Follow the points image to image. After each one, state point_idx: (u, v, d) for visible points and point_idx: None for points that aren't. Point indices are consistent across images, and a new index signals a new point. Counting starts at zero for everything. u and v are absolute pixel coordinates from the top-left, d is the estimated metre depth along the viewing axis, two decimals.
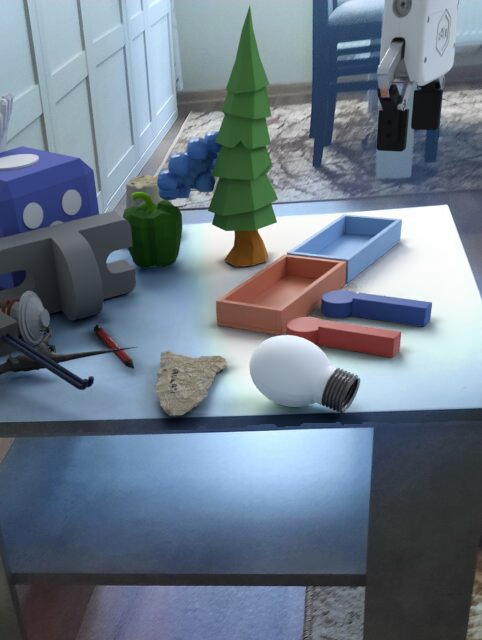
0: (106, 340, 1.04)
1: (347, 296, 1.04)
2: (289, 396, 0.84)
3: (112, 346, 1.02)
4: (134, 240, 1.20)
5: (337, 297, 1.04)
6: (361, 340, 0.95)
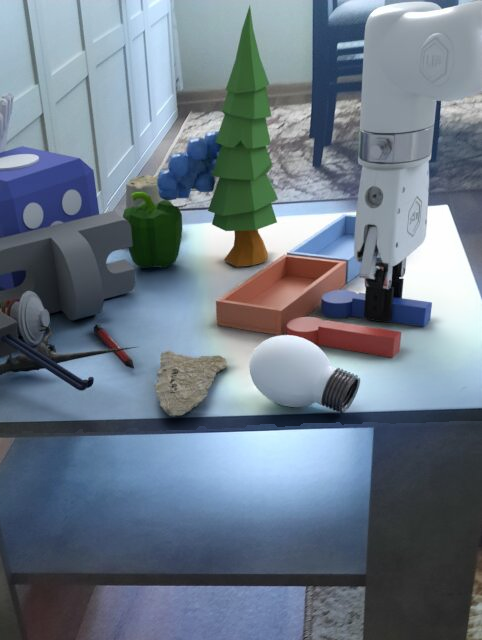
0: (106, 340, 1.04)
1: (347, 296, 1.04)
2: (289, 396, 0.84)
3: (112, 346, 1.02)
4: (134, 240, 1.20)
5: (337, 297, 1.04)
6: (361, 340, 0.95)
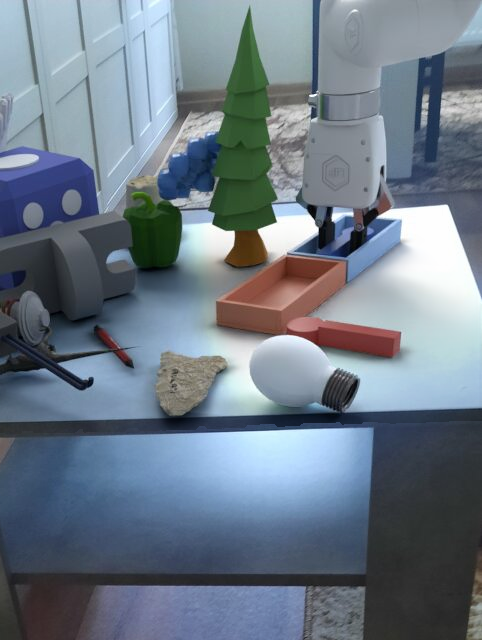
0: (106, 340, 1.04)
1: None
2: (289, 396, 0.84)
3: (112, 346, 1.02)
4: (134, 240, 1.20)
5: None
6: (361, 340, 0.95)
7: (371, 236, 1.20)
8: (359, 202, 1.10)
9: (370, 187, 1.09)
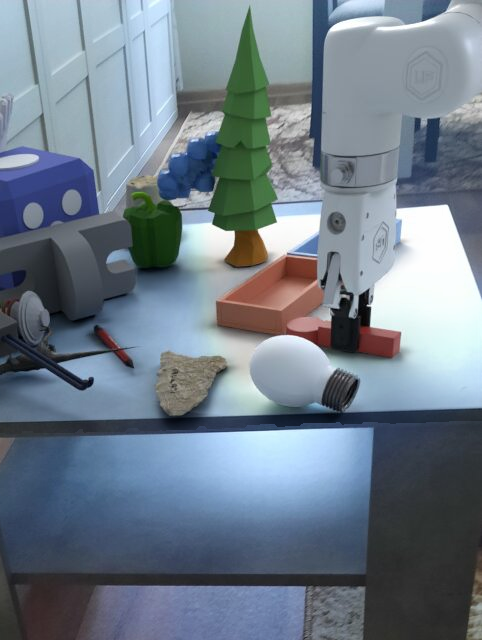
0: (106, 340, 1.04)
1: None
2: (289, 396, 0.84)
3: (112, 346, 1.02)
4: (134, 240, 1.20)
5: None
6: (361, 340, 0.95)
7: None
8: (391, 264, 0.93)
9: (394, 243, 0.93)
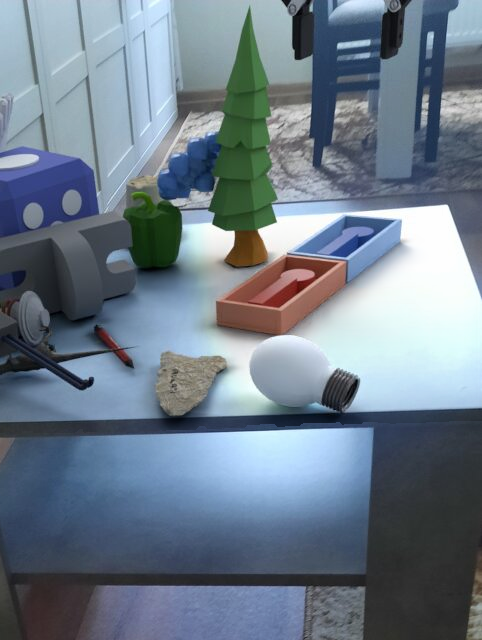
0: (106, 340, 1.04)
1: (356, 233, 1.20)
2: (289, 396, 0.84)
3: (112, 346, 1.02)
4: (134, 240, 1.20)
5: (355, 230, 1.21)
6: None
7: (371, 236, 1.20)
8: None
9: None
